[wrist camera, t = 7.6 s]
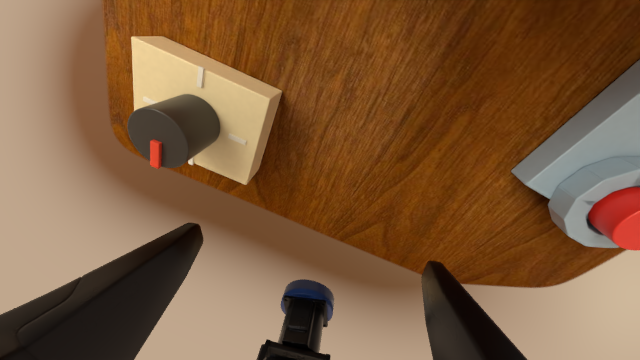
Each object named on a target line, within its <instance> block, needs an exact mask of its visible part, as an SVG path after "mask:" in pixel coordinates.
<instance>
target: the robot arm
mask: <svg viewBox="0 0 640 360" xmlns="http://www.w3.org/2000/svg"><path fill="white" fill-rule="evenodd" d="M202 244H203V235H202V232H201V228H200V226H199V224H195V223H187V224H184V225H183V226H181V227H179V228H177V229H175V230H173V231H171V232H169V233H167V234H165V235H163V236H161V237H159V238H157V239H155V240H153V241H151V242H149V243H147V244H145V245H143V246H141V247H139V248H137V249H135V250H133V251H131V252H129V253H127V254H125V255H123V256H121V257H119V258H117V259H115V260H113V261H111V262H109V263H107V264H105V265H103V266H101V267H99V268H97V269H95V270H93V271H91V272H89V273H87V274H85V275H84V276H82V277H79V278H78V279H75V280H74V281H71V282H70V283H67V284H66V285H63V286H61V287H59V288H58V289H55V290H53V291H51V292H49V293H47V294H45V295H43V296H41V297H39V298H36V299H34V300H32V301H30V302H28V303H26V304H23V305H21V306H19V307H17V308H14V309H13V310H10V311H8V312H6V313H3V314H1V315H0V360H134V359H135V357H136V355H137V354H138V352H139V351H140V349H141V347H142V346H143V344H144V343H145V341H146V340H147V338H148V336H149V335H150V333H151V332H152V330H153V328H154V327H155V325H156V324H157V322H158V321H159V319H160V318H161V316H162V314H163V313H164V311H165V310H166V308H167V306H168V305H169V303H170V302H171V300H172V299H173V297H174V295H175V294H176V292H177V291H178V289H179V287H180V286H181V284H182V283H183V281H184V279H185V278H186V276H187V274H188V272H189V270H190V268H191V266H192V264H193V262H194V260H195V258H196V256H197V254H198V252H199V250H200V248H201V246H202ZM422 290H423V301H424V310H425V320H426V327H427V332H428V337H429V342H430V346H431V351H432V356H433V360H527V359H526V358H525V357H524V355H523V354H522V353H521V352H520V351H519V350H518V349H517V347H516V346H515V345H514V344H513V343H512V342H511V341H510V340H509V338H508V337H507V336H506V335H505V334H504V333H503V332H502V331H501V329H500V328H499V327H498V326H497V325H496V324H495V323H494V321H493V320H492V319H491V318H490V317H489V316H488V315H487V314H486V312H484V310H483V309H482V308H481V307H480V306H479V305H478V303H477V302H476V301H475V300H474V299H473V298H472V297H471V296H470V294H469V293H468V292H467V291H466V290H465V289H464V288H463V287H462V285H461V284H460V283H459V282H458V281H457V280H456V279H455V278H454V276H453V275H452V274H451V273H450V272H449V271H448V270H447V269H446V267H445V266H444V265H443V264H442V263H441V262H436V261H428V263H427V265H426V267H425V269H424V272H423V274H422ZM283 303H284V308H285V312H286V316H285V320H284V323H283V326H282V330H281V334H280V337H279V341H278V343H276V342H272V341H270V340H266V343H265V344H263V345H262V346H261V348H260V351H259V355H258V358H257V360H330V355H329V354H321V353H319V350H320V342H321V336H322V329H323V327H327V325H328V317H327V302H326V300H323V299H314V298H306V297H297V296H289V295H284V297H283Z"/></svg>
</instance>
